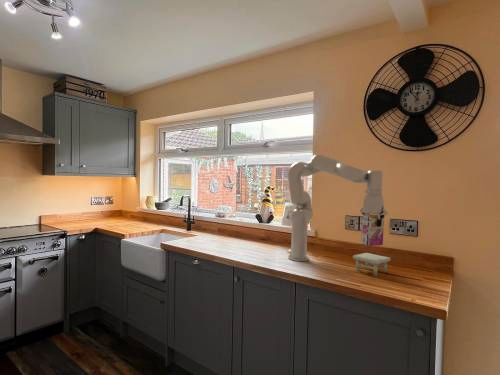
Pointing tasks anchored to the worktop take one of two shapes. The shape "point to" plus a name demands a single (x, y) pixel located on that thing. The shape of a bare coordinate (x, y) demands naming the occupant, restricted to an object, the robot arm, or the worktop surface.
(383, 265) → the step stool
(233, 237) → the worktop surface
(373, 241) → the candy bar box
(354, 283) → the worktop surface
